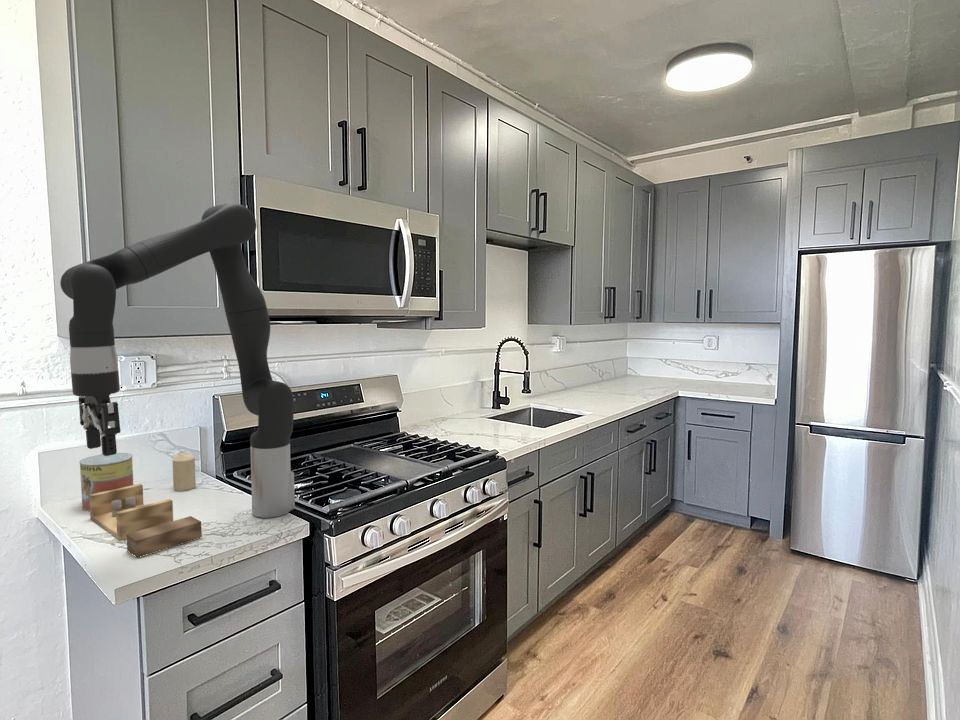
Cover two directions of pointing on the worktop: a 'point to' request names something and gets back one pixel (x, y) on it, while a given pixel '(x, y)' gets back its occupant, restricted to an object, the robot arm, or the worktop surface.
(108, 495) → the peg frame
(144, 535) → the brown wooden block
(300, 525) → the worktop surface
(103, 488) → the canned food
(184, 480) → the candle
